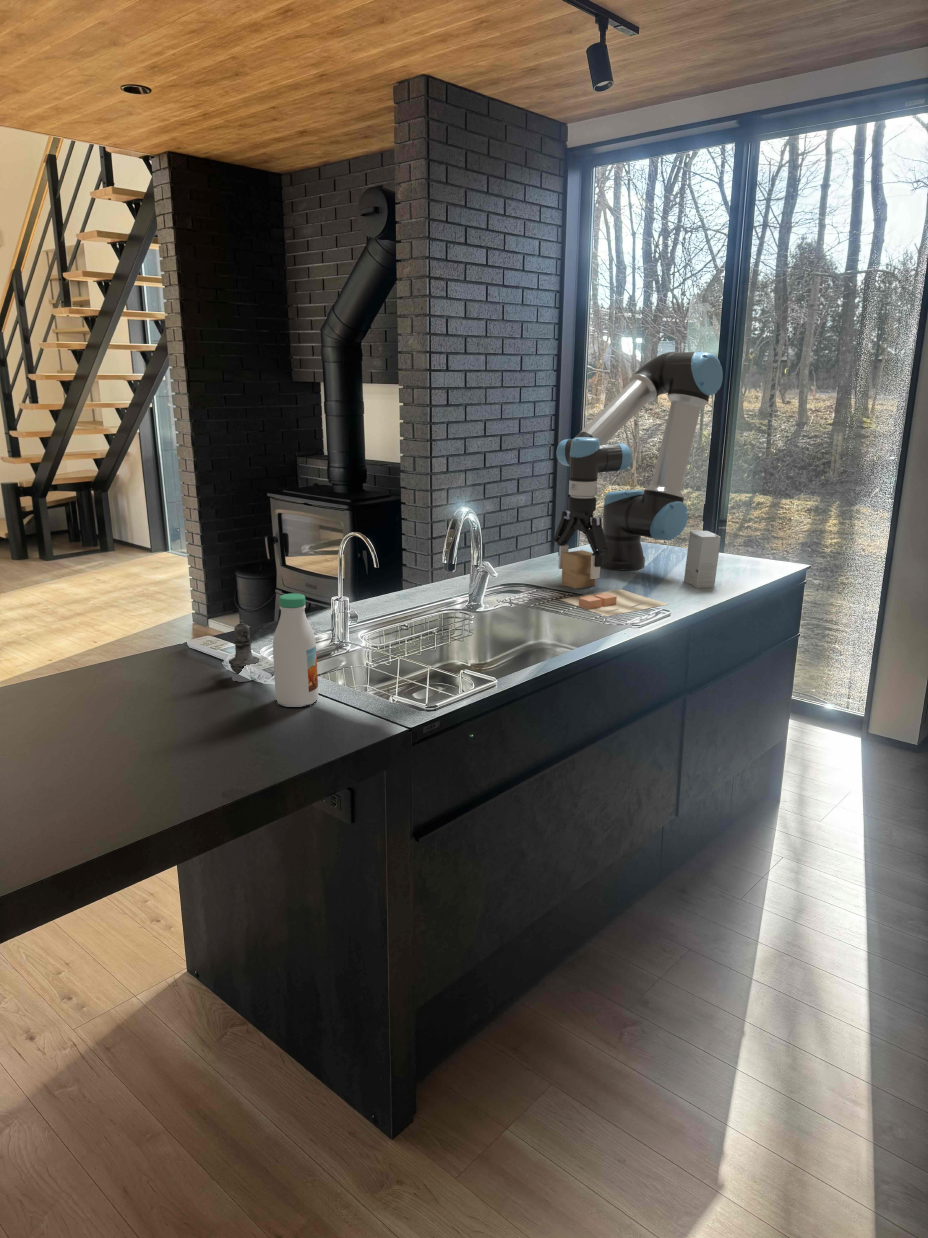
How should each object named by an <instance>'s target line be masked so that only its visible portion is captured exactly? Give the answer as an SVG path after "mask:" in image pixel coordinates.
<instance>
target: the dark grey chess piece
mask: <svg viewBox="0 0 928 1238" xmlns="http://www.w3.org/2000/svg"><path fill="white" fill-rule="evenodd" d="M233 632H234V641H233V645H234V646H235V647H234V649H235V654H234V657H232V658H230V659H229V660H228V664H229V665H230V669H231V670H232V672H234V673H235V674H239V673H240V672H241V671H242V669H243V668H244V666H246V665H250V664H256V663H258V664H259V662H260V658H259V657H257V656H254V655H253V653H252V645H251V644H252V643H253V640H251V632H250V626H249V624H246V623H245V622H244V620H243V619H240V620H239V623H238V624H237V625H235V626H234V631H233Z"/></svg>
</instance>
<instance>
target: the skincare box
mask: <svg viewBox="0 0 928 1238" xmlns="http://www.w3.org/2000/svg"><path fill="white" fill-rule="evenodd" d="M721 539H722V538H721V536H719V535H718V534H716V533H714V532H711V531H709V530H690V531H689V537H688V546H687V553H686V562H685V567H684V568H685V569H684V576H683V577H684V578H683V581H684V582H685V583H687V584H690V585H691V586H693V587H694V588H696V589H697V588H701V589H702V588H715V585H716V578H717V576H716V575H717V568H718V563H719V562H718V561H719V554H720V547H721Z"/></svg>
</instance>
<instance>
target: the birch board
mask: <svg viewBox="0 0 928 1238" xmlns="http://www.w3.org/2000/svg"><path fill="white" fill-rule="evenodd" d="M604 593H607V594H610V595H613V596H616V597H617V599H616V604H615V605H609V606H602V605H601V607H598V608H593V609H587V608H584V607H582V606H579V598H581V597H587V596H593V597H594V595H598V594H604ZM559 600H560V601H563V602H566V603H568V604H570V605H574V606H576V607H579V608H582V609H585V610H588V611H590V612H593V613H596V614H598V615H602V616H603V617H610V616H616V615H620V614H626V613H631V612H636V611H641V610H646V609H653V608H657V607H662V606H668V605H670V604H669V603H665V602H663V601H659V600H657V599H653V598H649V597H647V596H644V595H642V594H641V595H640V594H636V593H634V592H632V591H628V590H624V589H621V588H618V589H614V590H613V589H611V590H608V591H601V592H596V593H591V594H589V593H588V594H583V595H579V596H572V597H567V598H561V599H559Z"/></svg>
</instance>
